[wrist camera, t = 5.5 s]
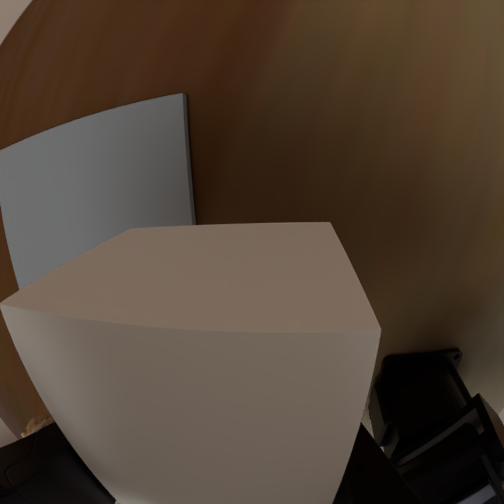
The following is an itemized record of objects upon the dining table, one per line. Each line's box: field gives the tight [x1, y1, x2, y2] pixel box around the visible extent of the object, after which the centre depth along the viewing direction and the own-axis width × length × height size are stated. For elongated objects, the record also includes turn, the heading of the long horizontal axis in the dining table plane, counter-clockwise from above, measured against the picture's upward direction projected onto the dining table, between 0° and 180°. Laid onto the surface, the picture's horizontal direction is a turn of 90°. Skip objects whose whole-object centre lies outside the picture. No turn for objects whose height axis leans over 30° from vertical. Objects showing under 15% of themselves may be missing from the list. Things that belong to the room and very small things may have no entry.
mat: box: [0, 93, 196, 290], centre depth 19 cm, size 18×18×1 cm
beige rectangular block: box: [0, 222, 381, 504], centre depth 6 cm, size 5×9×5 cm, turn 4°
